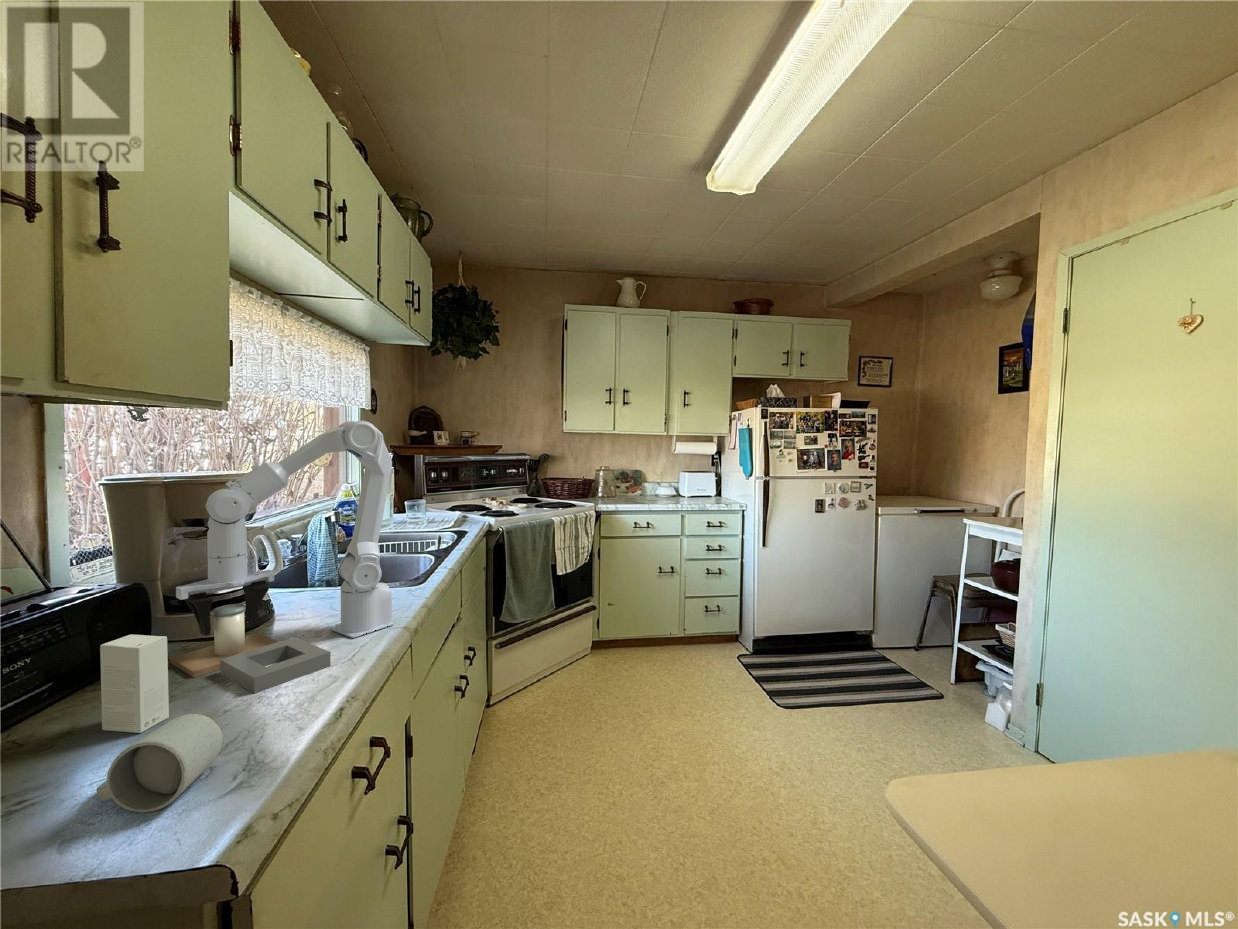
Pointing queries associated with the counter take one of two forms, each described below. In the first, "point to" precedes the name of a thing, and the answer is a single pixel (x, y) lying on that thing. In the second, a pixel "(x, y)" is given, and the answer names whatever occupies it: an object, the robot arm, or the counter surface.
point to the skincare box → (134, 683)
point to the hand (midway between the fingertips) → (228, 628)
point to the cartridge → (229, 629)
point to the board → (213, 656)
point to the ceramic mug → (162, 763)
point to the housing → (258, 678)
